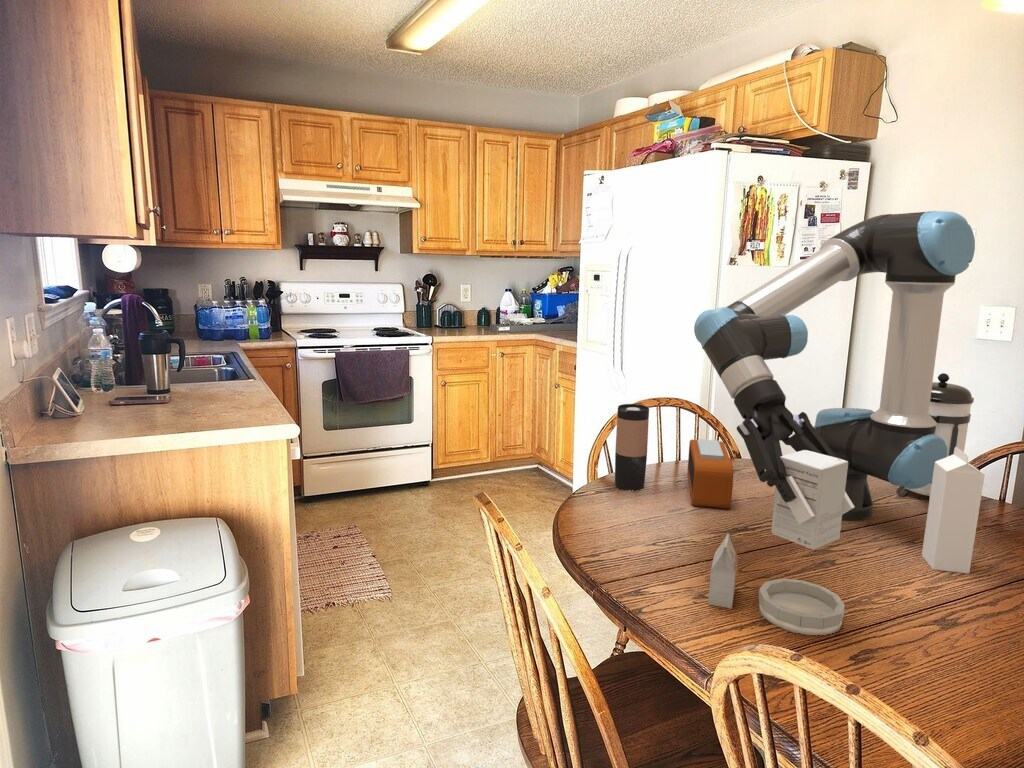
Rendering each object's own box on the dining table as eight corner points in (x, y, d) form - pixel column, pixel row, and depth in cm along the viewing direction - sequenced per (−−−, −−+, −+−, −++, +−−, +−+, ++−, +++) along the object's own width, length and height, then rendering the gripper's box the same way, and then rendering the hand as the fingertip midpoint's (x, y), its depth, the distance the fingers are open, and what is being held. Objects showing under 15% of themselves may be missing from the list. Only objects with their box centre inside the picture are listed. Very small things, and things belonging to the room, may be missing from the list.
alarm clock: (687, 475, 173) (690, 433, 171) (720, 477, 171) (723, 435, 169) (692, 508, 150) (695, 459, 148) (730, 511, 148) (734, 462, 146)
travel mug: (643, 481, 166) (647, 404, 163) (646, 492, 159) (651, 411, 155) (612, 480, 167) (616, 403, 163) (614, 490, 160) (618, 410, 156)
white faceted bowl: (827, 599, 110) (829, 582, 109) (853, 639, 98) (855, 620, 97) (752, 592, 111) (753, 576, 111) (768, 631, 100) (770, 613, 99)
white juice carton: (708, 604, 107) (712, 546, 106) (712, 585, 114) (716, 530, 112) (731, 608, 106) (736, 550, 104) (734, 589, 112) (739, 534, 110)
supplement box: (796, 523, 107) (805, 448, 105) (840, 540, 101) (850, 460, 99) (768, 533, 103) (776, 455, 101) (813, 550, 97) (822, 468, 95)
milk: (932, 570, 121) (948, 454, 117) (921, 556, 127) (935, 445, 123) (970, 574, 119) (987, 456, 115) (957, 559, 125) (973, 447, 121)
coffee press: (875, 484, 168) (890, 367, 162) (939, 485, 167) (956, 368, 162) (914, 509, 151) (932, 380, 145) (985, 511, 150) (1006, 381, 145)
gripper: (783, 397, 117) (855, 515, 106) (692, 407, 108) (760, 537, 96) (812, 373, 111) (891, 494, 100) (719, 380, 102) (794, 515, 91)
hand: (827, 515), depth 98 cm, fingers closed on supplement box, 8 cm apart
